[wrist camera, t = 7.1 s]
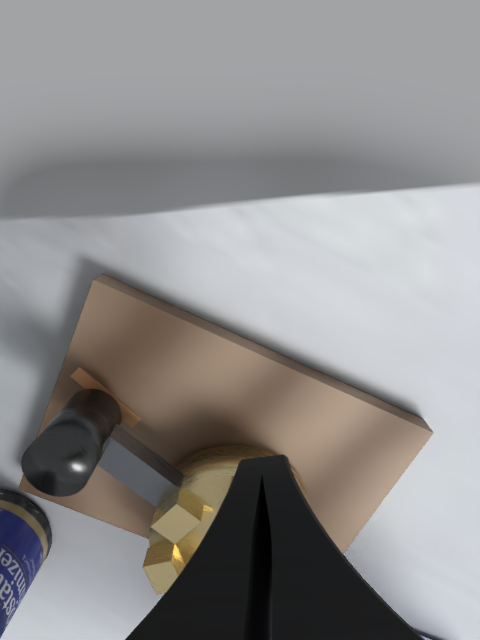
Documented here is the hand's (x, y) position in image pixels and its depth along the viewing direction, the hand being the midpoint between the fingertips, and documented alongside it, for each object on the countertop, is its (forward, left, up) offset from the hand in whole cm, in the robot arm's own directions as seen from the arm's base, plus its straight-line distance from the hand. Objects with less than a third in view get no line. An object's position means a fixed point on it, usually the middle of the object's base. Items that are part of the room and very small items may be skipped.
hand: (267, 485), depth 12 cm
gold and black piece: (+1, +7, -8) cm, 11 cm away
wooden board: (0, +6, -9) cm, 11 cm away
